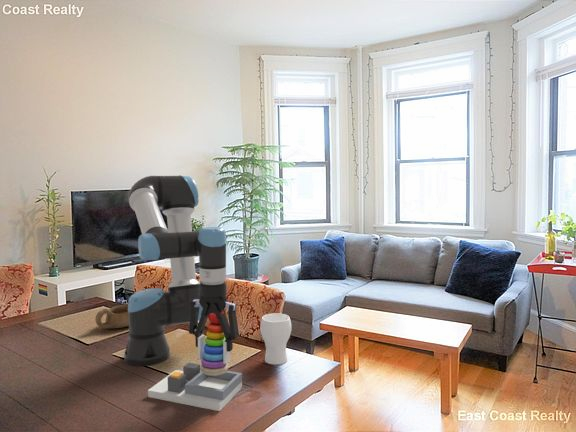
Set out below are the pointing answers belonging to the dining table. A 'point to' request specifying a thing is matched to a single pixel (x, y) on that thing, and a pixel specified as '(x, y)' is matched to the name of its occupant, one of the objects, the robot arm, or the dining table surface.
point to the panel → (214, 404)
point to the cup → (275, 336)
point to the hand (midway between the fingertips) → (214, 359)
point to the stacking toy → (213, 348)
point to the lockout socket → (213, 393)
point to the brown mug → (114, 317)
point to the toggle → (191, 370)
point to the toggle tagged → (176, 382)
